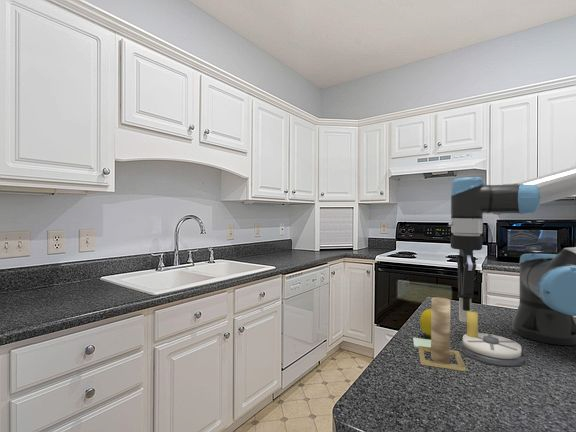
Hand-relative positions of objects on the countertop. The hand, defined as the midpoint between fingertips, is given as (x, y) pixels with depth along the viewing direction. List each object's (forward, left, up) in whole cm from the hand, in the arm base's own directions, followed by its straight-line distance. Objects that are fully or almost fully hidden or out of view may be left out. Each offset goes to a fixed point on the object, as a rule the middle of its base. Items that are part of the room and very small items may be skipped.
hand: (465, 321), depth 86 cm
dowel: (+8, +16, -5) cm, 18 cm away
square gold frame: (+8, +16, -5) cm, 18 cm away
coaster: (+10, +8, -5) cm, 14 cm away
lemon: (+9, +2, -5) cm, 10 cm away
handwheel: (-4, +8, -4) cm, 10 cm away
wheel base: (-4, +8, -5) cm, 10 cm away
